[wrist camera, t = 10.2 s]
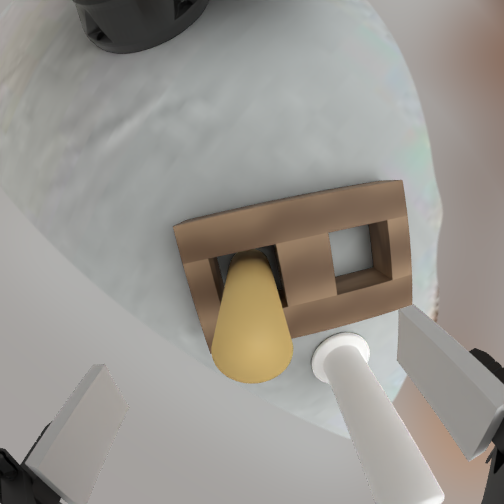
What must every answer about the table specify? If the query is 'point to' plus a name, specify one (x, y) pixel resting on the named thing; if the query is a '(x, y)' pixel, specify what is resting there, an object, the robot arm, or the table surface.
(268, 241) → the socket block
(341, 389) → the candle
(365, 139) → the table surface
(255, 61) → the table surface
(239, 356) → the peg
